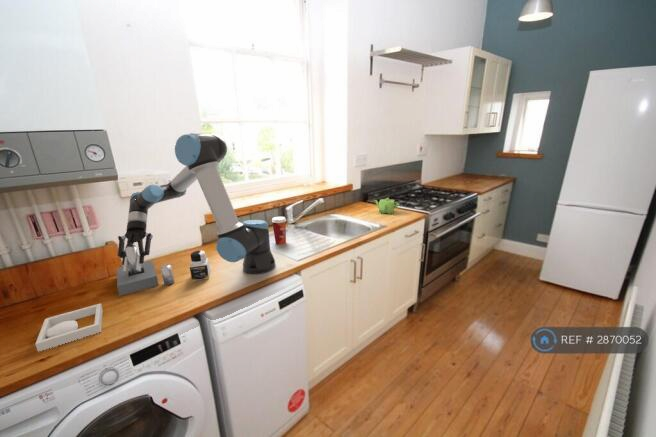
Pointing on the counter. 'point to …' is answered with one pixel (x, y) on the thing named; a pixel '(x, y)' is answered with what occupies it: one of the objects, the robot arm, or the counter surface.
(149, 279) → the bored block
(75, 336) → the grey rectangular frame
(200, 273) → the medicine bottle
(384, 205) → the kettle
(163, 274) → the silver upright block
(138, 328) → the counter surface
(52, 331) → the white rounded block
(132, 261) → the tall steel pin
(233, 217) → the robot arm
